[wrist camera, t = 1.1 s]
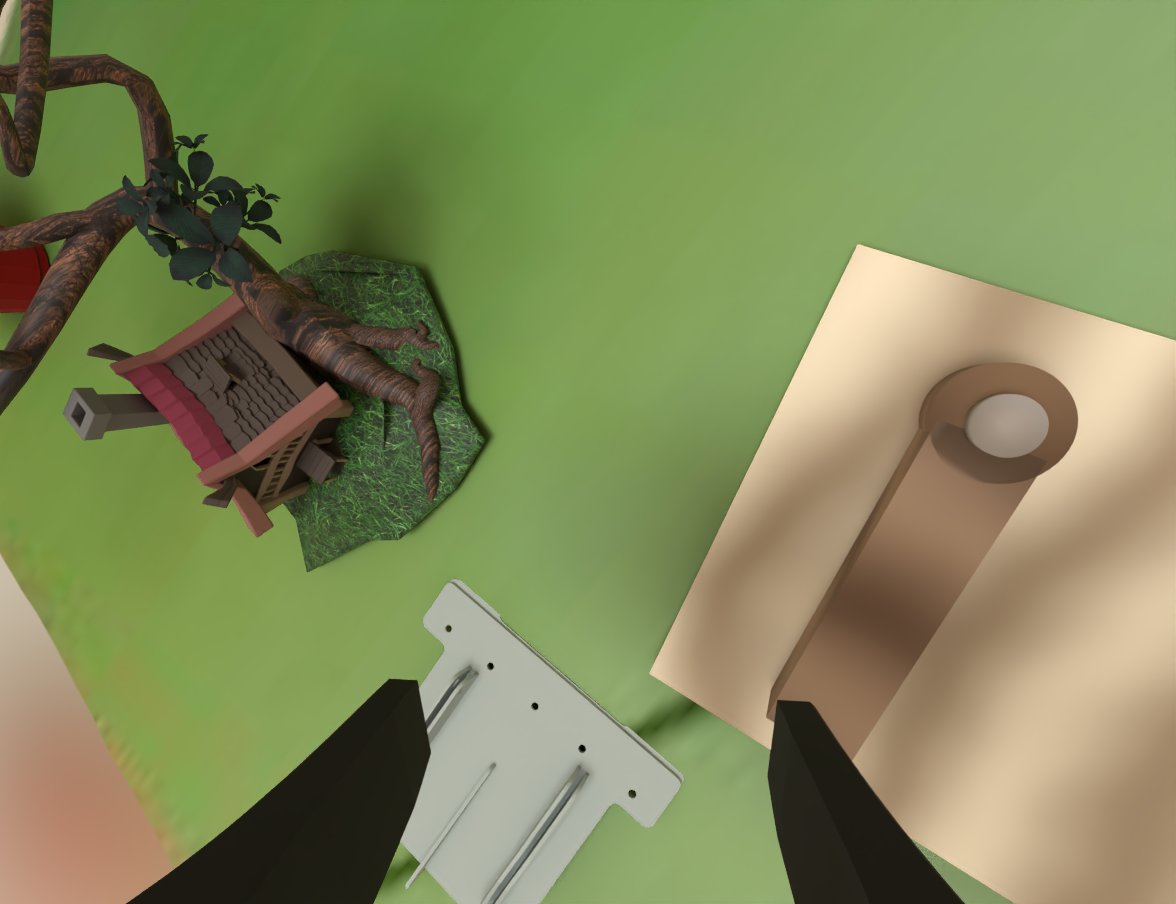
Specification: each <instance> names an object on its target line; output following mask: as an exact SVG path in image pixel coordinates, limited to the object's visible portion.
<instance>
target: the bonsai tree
mask: <svg viewBox="0 0 1176 904" xmlns="http://www.w3.org/2000/svg"><path fill="white" fill-rule="evenodd" d="M6 1H7V0H0V15H1V12H2V8H3V7H4V5H5V3H6ZM52 10H53V0H22V5H21V42H20V59H19V63H16V64H10V65H5V66H2V65H0V93H6V94H16V102H15V113H14V121H13V119H12V116H11V114H10V112H9V109H8V107H7V105H6V103H5V101H4V100H3V98H2V96H1V95H0V142H1V147H2V152H3V156H4V160H5V164H6V168H7V169H8V170H9V171H10V172H11V173H12V174H13V175H16V176H19V177H26V176H29V175H30V173H31V171H32V170H33V168H34V165H35V160H36V154H37V149H38V144H39V138H40V133H41V126H42V119H43V111H44V103H45V96H46V91H51V90H57V89H63V88H69V87H76V86H83V85H90V84H97V83H105V82H106V83H111V84H116V85H121V86H125V88H126V90H127V91H128V93H129V95H130V97H131V99H132V101H133V102H134V104H135V106H136V108H137V111H138V118H139V124H140V131H141V137H142V144H143V152H144V165H145V178H146V183H145V184H144V186H133V184H132V183H131V181H130V180H129V179H128V178H127V177H126V175H125V176H124V177H123V181H122V183H123V187H122V188H120V189H118V190H117V191H115V192H113V193H111V194H109V195H107V196H105V197H103V198H101V199H99V200H98V201H96V202H94V203H92V204H91V205H90V206H89V207H87V208H86V209H84V210H78V211H72V212H65V213H57V214H53V215H50V216H47V217H44V218H41V219H38V220H35V221H32V222H28V223H24V224H20V225H16V226H12V227H7V228H1V229H0V251H9V250H16V249H24V248H30V247H34V246H39V245H43V244H48V243H52V242H55V241H59V240H62V239H65V238H66V240H65V242H64V243H63V245H62V247H61V249H60V251H59V252H58V254H57V256H56V258H55V259H54V261H53V263H52V265H51V267H50V268H49V270H48V272H47V274H46V276H45V278H44V279H43V281H42V283H41V285H40V287H39V289H38V291H37V293H36V294H35V296H34V298H33V300H32V302H31V304H30V306H29V308H28V309H27V311H26V313H25V315H24V317H23V319H22V320H21V322H20V324H19V325H18V327H17V329H16V331H15V332H14V334H13V336H12V337H11V339H10V341H9V342H8V344H7V346H6V348H5V349H4V350H0V415H1V414H2V413H3V411H4V410H5V409H6V407H7V406H8V405H9V404H10V402H11V401H12V400H13V399H14V397H15V396H16V395H17V393H18V392H19V391H20V390H21V388H22V387H23V386H24V384H25V383H26V382H27V381H28V379H29V378H30V376H31V375H32V373H33V372H34V370H35V369H36V367H37V366H38V364H39V363H40V361H41V360H42V358H43V357H44V355H45V354H46V352H47V351H48V349H49V348H50V346H51V345H52V343H53V342H54V340H55V339H56V337H57V336H58V334H59V333H60V331H61V330H62V328H63V326H64V325H65V323H66V322H67V320H68V318H69V317H70V315H71V313H72V312H73V310H74V309H75V307H76V305H77V304H78V302H79V300H80V299H81V297H82V296H83V294H84V292H85V291H86V289H87V287H88V286H89V284H90V283H91V281H92V280H93V278H94V277H95V275H96V274H97V272H98V270H99V269H100V267H101V266H102V264H103V263H104V261H105V260H106V258H107V257H108V255H109V254H110V253H111V251H112V250H113V249H114V248H115V247H116V245H117V244H118V243H119V242H120V240H121V239H122V238H123V237H124V236H125V234H126V233H128V232H129V231H130V230H131V229H132V228H133V227H134V226H136V225H137V228H138V230H139V232H140V233H141V234H142V235H143V236H145V239H146V240H147V241H148V243H149V245H151V246H153V248H154V251H156V252H157V253H158V255H159V256H161V257H167V256H168V255H169V254H170V255H171V256H172V258H171V260H170V263H169V266H170V272H171V276H172V278H173V280H185V281H186V282H187V283H188V284H189V285H191V286H192V284H191V283H190V282H189V281H188V280H190V279H193V278H195V277H197V276H200V275H202V274H203V273H204V272H208V274H205V275H203V276H201V277H200V278H199V279H198V280H197V282H196V284H197V285H198V286H199V287H200V288H202V289H210V288H211V287H212V277H213V279H214V281H215V282H216V284H218V285H220V286H225V287H227V286H229V287H230V288H231V289H232V291H233V292H234V294H233V295H231V296H230V297H229V298H228V299H226V300H225V301H224V302H222V303H221V304H220V305H219V306H217V307H216V308H215V309H213V310H212V311H211V312H209V313H208V314H206V315H205V316H204V317H202V318H201V319H200V320H198V321H197V322H195V323H194V324H193V325H191V326H189V327H188V328H186V329H185V330H183V331H182V332H180V333H179V334H177V335H176V336H174V337H173V338H171V339H170V340H168V341H167V342H165V343H164V344H162V345H160V346H159V347H157V348H156V349H154V350H152V351H149V352H146V353H143V354H140V355H136V356H133V355H131V354H129V353H126V352H124V351H121V350H119V349H117V348H114V347H112V346H109V345H107V344H104V343H102V344H99V345H97V346H94V347H92V348H89V350H88V353H87V355H88V356H93V357H99V358H105V359H110V360H116V361H118V362H114V363H111V364H110V367H111V368H112V370H113V371H114V372H115V373H116V374H117V375H119V376H121V377H123V378H125V379H127V380H129V381H130V382H131V383H132V384H133V385H134V387H136V388H137V389H138V390H139V391H140V392H141V393H142V394H105V395H98V394H97V393H96V392H95V390H94V389H93V388H73V391H72V393H71V395H70V398H69V400H68V402H67V404H66V407H65V409H64V411H63V415H64V416H65V417H66V419H67V420H68V421H69V423H70V424H71V425H72V426H73V428H74V429H75V430H76V432H77V433H78V434H79V436H80V437H81V438H82V439H83V440H95V439H102V437H103V435H104V433H105V432H106V431H114V430H122V429H129V428H137V427H145V426H153V425H161V424H169V425H170V426H171V428H172V430H173V432H174V434H175V435H176V437H177V438H178V439H179V440H180V442H181V443H182V444H183V445H184V446H185V447H186V448H187V449H188V450H189V451H190V453H191V457H192V460H193V461H194V462H195V463H196V464H198V465H199V466H200V468H201V470H202V472H200V473H198V474H197V475H196V477H197V478H198V479H199V480H200V482H201V483H202V484H203V485H204V486H207V487H210V488H213V489H217V491H216V492H214V493H212V494H210V495H209V496H207V497H205V499H204V501H203V504H206V505H211V506H218V507H222V508H227V506H228V504H229V502H230V500H231V499H233V501H234V502H235V504H236V506H237V508H238V509H239V511H240V513H241V515H242V517H243V519H244V521H245V523H246V525H247V526H248V528H249V529H250V530H251V531H252V533H253V534H254V535H255V536H256V537H259V536H261V535H262V534H263V533H264V532H266V531H268V530H269V529H271V528H272V527H273V526H274V525H273V524H272V522H271V521H270V519H269V518H268V516H267V515H266V513H268V512H269V511H271V510H273V509H274V508H276V507H277V506H279V505H281V504H282V503H283V504H284V505H285V506H286V508H287V509H288V510H289V512H290V513H291V514H292V515H293V517H294V518H295V519H296V522H297V527H298V532H299V537H300V541H301V546H302V551H303V556H304V561H305V566H306V570H307V572H310V571H312V570H314V569H315V568H317V567H319V566H321V565H323V564H325V563H327V562H329V561H331V560H333V559H335V558H337V557H339V556H340V555H342V554H344V553H346V552H348V551H350V550H352V549H354V548H356V547H358V546H360V545H362V544H364V543H366V542H368V541H369V540H399V539H401V538H402V537H403V536H404V535H405V534H407V533H408V532H409V531H410V530H411V529H412V528H413V527H414V526H415V525H417V524H418V523H419V522H420V521H421V520H422V519H423V518H424V517H425V516H426V515H428V514H429V513H430V512H431V511H432V510H433V509H434V508H435V507H436V506H438V505H439V504H440V503H441V502H442V501H443V500H444V499H445V498H446V497H448V496H449V495H450V494H451V493H452V492H453V491H454V490H455V489H456V488H457V487H458V485H459V483H460V482H461V480H462V479H463V477H464V475H465V474H466V472H467V470H468V469H469V467H470V466H471V464H472V462H473V461H474V459H475V457H476V456H477V454H478V453H479V451H480V449H481V448H482V446H483V444H484V443H485V441H486V440H485V439H484V437H483V436H482V434H481V433H480V431H479V430H478V428H477V427H476V425H475V424H474V423H473V421H472V420H471V418H470V417H469V415H468V414H467V412H466V411H465V409H464V408H463V406H462V402H461V395H460V388H459V381H458V374H457V367H456V360H455V352H454V348H453V345H452V343H451V341H450V338H449V336H448V334H447V331H446V329H445V327H444V324H443V322H442V320H441V317H440V315H439V313H438V311H437V308H436V306H435V304H434V301H433V299H432V297H431V294H430V292H429V290H428V287H427V285H426V283H425V280H424V278H423V276H422V274H421V271H420V269H419V268H417V267H414V266H409V265H404V264H399V263H394V262H389V261H383V260H378V259H373V258H368V257H363V256H357V255H352V254H347V253H342V252H337V251H328V252H323V253H319V254H314V255H309V256H305V257H304V258H302V259H300V260H298V261H297V262H295V263H293V264H291V265H290V266H288V267H286V268H285V269H283V270H281V271H280V272H279V274H278V273H277V272H276V271H275V270H274V269H273V268H272V267H271V266H270V265H269V264H268V263H267V262H266V261H265V260H264V259H263V258H262V257H261V256H260V255H259V254H258V253H257V252H256V251H255V250H254V249H253V248H252V247H251V246H250V245H249V244H247V243H246V242H245V241H244V240H243V239H242V238H241V237H240V236H239V235H237V234H238V233H239V231H240V228H241V227H244V228H247V229H249V230H255V229H258V230H261V231H263V232H264V233H265V234H267V235H268V236H269V237H271V238H272V239H273V240H275V241H276V242H278V243H280V244H281V239H280V236H279V234H278V233H277V231H276V230H275V229H274V228H273V227H271V226H270V225H266V224H259V223H255V224H252V225H250V224H249V223H247V221H253V222H259V221H263V220H266V219H268V218H270V217H271V216H272V209H271V206H270V205H269V204H268V203H267V202H265V201H263V199H264V198H265V199H273V200H275V201H276V202H278V200H276V199H281V198H279V197H278V196H276V195H274V194H268V195H266V196H265V190H264V188H263V187H262V186H260V185H258V184H256V183H255V184H256V186H257V188H258V189H257V188H256V187H255V186H251V187H253V188H255V189H257V191H258V192H259V193H260V195H261V197H264V196H265V197H264V198H263V199H262V200H258V201H256V202H255V203H254V204H253V205H252V207H251V208H250V210H249V211H248V212H247V207H248V199H247V198H246V195H247V194H248V193H254V194H255V191H253V192H250V191H252V190H255V189H252V188H249V189H248V188H244V189H243V187H242V186H241V185H240V184H239V183H238V182H237V181H235V180H233V179H231V178H229V177H223V176H219V177H217V178H215V179H213V180H211V181H210V182H209V183H207V185H206V187H205V189H204V191H198V187H199V186H201V185H203V184H205V183H206V182H207V180H208V178H209V177H210V175H211V172H212V169H213V166H214V163H213V160H212V158H211V157H210V156H209V155H208V154H207V153H206V152H203V151H197V152H195V151H194V152H192V153H191V154H190V155H189V156H188V170H189V173H190V177H191V179H192V180H193V182H194V184H195V190H194V189H193V188H192V189H193V190H194V191H193V190H192V189H191V185H190V179H189V177H188V176H187V174H186V173H185V171H184V170H183V169H182V168H181V166H180V165H179V164H178V150H179V148H180V147H181V146H182V145H183V146H186V147H188V148H193V147H194V148H197V146H198V145H199V144H200V143H204V142H205V141H204V140H203V139H204V138H205V137H206V136H208V135H207V134H202V135H199V136H197V137H196V138H195V141H194V143H193V142H192V141H191V139H190V138H189V137H187V136H178V137H175V138H176V139H177V140H179V141H181V142H182V143H184V144H182V143H179V142H174V139H173V133H172V126H171V119H170V115H169V113H168V111H167V109H166V107H165V105H164V103H163V101H162V99H161V97H160V95H159V93H158V91H157V89H156V86H155V84H154V82H153V81H152V80H151V79H150V78H149V77H148V76H146V75H144V74H142V73H141V72H139V71H137V70H135V69H133V68H131V67H129V66H127V65H126V64H124V63H122V62H120V61H118V60H116V59H114V58H112V57H111V56H109V55H107V54H100V55H80V56H60V57H50V45H51V28H52ZM202 140H203V141H202ZM175 144H180V145H179V147H178V148H177V149H175V146H174V145H175ZM194 148H193V149H194ZM178 180H179V181H180V182H182V183H183V184H184V185H183V184H181V186H180V188H181V190H182V192H183V193H182V194H181V195H179V194H178ZM185 185H186V186H187V187H186V186H185ZM210 190H213V191H215V192H211V191H210ZM228 190H231V191H232V192H233V194H234V196H235V198H234V200H235V201H234V200H233V196H232V194H231V193H230V192H229V191H228ZM207 193H215V194H217V195H218V198H219V201H220V203H221V204H222V206H220V203H219V202H218V201H217V200H216V199H215V198H214V197H212V196H207V197H205V198H203V200H204V201H205V202H207V203H209V204H212V205H214V206H216V207H218V208H215V209H214V210H213V211H212V213H211V214H210V213H209V212H207V211H206V210H204V209H203V208H201V207H199V206H198V205H196V202H197V199H200V198H202V197H203V196H205V195H206V194H207ZM274 198H276V199H274ZM193 200H194V202H192V201H193ZM227 201H229V202H228V203H227V204H226V202H227ZM225 204H226V205H225ZM239 205H240V206H239ZM247 214H248V220H245V219H244V217H245V216H246V215H247ZM152 225H153V226H152ZM154 226H155V227H154ZM157 227H158V228H157ZM159 228H160V229H159ZM148 229H150V230H152V231H155V232H158V233H161V234H154V235H148ZM162 229H163V230H162ZM164 230H165V231H164ZM166 231H167V232H166ZM169 233H170V234H171V235H173V236H174V237H175V239H174V238H172V237H170V236H168V235H165V234H169ZM177 239H178V240H180V241H181V242H183V243H184V244H185V245H187V246H188V247H189V248H183V249H180V247H179V246H178V247H177V243H176V240H177ZM178 244H179V243H178ZM207 268H208V270H207ZM211 268H212V269H213V270H214V271H215V272H216V273H217V274H218V275H219V276H220V277H221V278H222V279H223V280H224V281H222V280H220V279H217V278H216V276H215V275H214V274H213V273H211V272H210V270H211ZM209 273H210V274H211V275H212V277H211V276H210V275H209Z"/></svg>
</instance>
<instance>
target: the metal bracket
mask: <svg viewBox="0 0 1176 904" xmlns="http://www.w3.org/2000/svg"><path fill="white" fill-rule="evenodd" d="M423 623H424V626H425V628H426V629H427V630H428V631H430V632H431V633H432V634H433V635H434V636H435V637H436V638H437V639H438V640H439V641H440V642H442V643H443V645H444V649H445V650H444V653H443V654H442V656H441V657H440V659H439V660H438V662H437V663H436V665H435V666H434V667H433V669H432V670H431V672H430V673H429V675H428V676H427V678H426V679H425V680H424V682H423V683H422V685H421V686H420V688H419V691H420V697H421V702H422V707H423V712H424V717H425V723H426V728H427V733H428V738H429V743H430V749H431V755H430V759H429V762H428V765H427V769H426V772H425V775H424V779H423V782H422V785H421V788H420V792H419V795H418V798H417V801H416V804H415V807H414V810H413V812H412V814H411V817H410V819H409V822H408V824H407V826H406V829H405V831H404V833H403V836H402V838H401V840H400V842H401V843H402V844H403V845H404V846H405V847H406V848H407V849H408V850H409V851H410V853H411V854H412V855H413V856H414V857H415V858H416V859H417V860H418V861H419V862H420V863H421V864H420V865H419V867H418V868H417V869H416V871H415V872H414V874H413V875H412V876H411V878H410V879H409V881H408V882H407V883H406V885H405V887H406V888H407V889H408V888H409V887H410V886H411V884H412V883H413V882H414V881H415V880H416V878H417V877H418V876H419V875H420V874H421V872H422V871H423V870H424V869H426V870H427V871H428V872H429V873H430V874H431V875H432V876H433V877H434V879H435V880H436V881H437V882H438V883H439V884H440V885H441V886H442V887H443V888H444V889H445V890H446V892H447V893H448V894H449V895H450V896H451V897H452V898H453V899H454V900H455V901H456V902H457V904H540V902H541V901H542V900H543V898H544V897H545V895H546V894H547V893H548V891H549V890H550V888H551V887H552V886H553V884H554V883H555V881H556V880H557V879H558V877H559V876H560V874H561V873H562V872H563V870H564V869H565V867H566V866H567V865H568V863H569V862H570V860H571V859H572V858H573V856H574V855H575V853H576V852H577V851H578V849H579V848H580V847H581V845H582V844H583V842H584V841H585V840H586V838H587V837H588V835H589V834H590V833H591V831H592V830H593V828H594V827H595V826H596V824H597V823H598V821H599V820H600V819H601V817H602V816H603V814H604V813H605V812H606V810H607V809H608V807H609V806H610V805H611V804H618V805H620V806H621V807H622V808H623V809H624V810H625V811H627V812H628V813H629V814H630V815H631V816H632V817H633V818H634V819H635V820H636V821H637V822H639V823H640V824H641V825H642V826H644V827H647V828H648V827H651V826H653V825H654V823H655V822H656V821H657V819H658V818H659V816H660V815H661V814H662V812H663V811H664V810H665V808H666V807H667V805H668V804H669V803H670V801H671V800H672V798H673V797H674V796H675V794H676V793H677V792H678V790H679V789H680V786H681V785H682V783H683V781H684V777H683V775H682V774H681V773H680V772H679V771H678V770H677V769H676V768H674V767H673V766H672V765H671V764H670V763H669V762H668V761H666V760H665V759H664V758H663V757H662V756H661V755H660V754H658V753H657V752H656V751H655V750H654V749H653V748H652V747H650V746H649V745H648V744H647V743H646V742H645V741H644V740H642V739H641V738H640V737H639V736H638V735H637V734H636V733H634V732H633V731H632V730H631V729H630V728H629V727H628V726H624V725H622V724H621V723H619V722H618V721H617V720H616V719H615V718H614V717H613V716H611V715H610V714H609V713H608V712H607V711H606V710H604V709H603V708H602V707H601V706H600V705H599V704H597V703H596V702H595V701H594V700H593V699H592V698H591V697H589V696H588V695H587V694H586V693H585V692H584V691H582V690H581V689H580V688H579V687H578V686H577V685H575V684H574V683H573V682H572V681H571V680H570V679H569V678H567V677H566V676H565V675H564V674H563V673H562V672H560V671H559V670H558V669H557V668H556V667H555V666H553V665H552V664H551V663H550V662H549V661H548V660H547V659H545V658H544V657H543V656H542V655H541V654H540V653H538V652H537V651H536V650H535V649H534V648H533V647H531V646H530V645H529V644H528V643H527V642H526V641H525V640H523V639H522V638H521V637H520V636H519V635H518V634H516V633H515V632H514V631H513V630H512V629H511V628H509V627H508V626H507V625H506V624H505V623H504V622H503V621H502V620H501V617H500V615H499V614H498V613H497V612H496V611H495V610H494V609H493V608H491V607H490V606H489V605H488V604H487V603H486V602H484V601H483V600H482V599H481V598H480V597H479V596H478V595H476V594H475V593H474V592H473V591H472V590H471V589H470V588H468V587H467V586H466V585H465V584H464V583H463V582H462V581H460V580H457V579H453V580H451V581H450V582H449V583H448V584H447V585H446V586H445V587H444V589H443V590H442V592H441V593H440V594H439V596H438V597H437V599H436V600H435V602H434V603H433V605H432V606H431V608H430V609H429V610H428V612H427V613H426V615H425V616H424V618H423ZM448 625H450V626H451V627H452V630H451V632H449V631H448V630H447V626H448ZM489 663H493V665H494V668H493V669H490V668H489V666H488V665H489ZM534 702H536V703H537V704H538V709H534V708H533V705H532V704H533V703H534ZM580 745H584V746H585V747H586V751H581V750H580V749H579V746H580ZM630 790H634V791H635V792H636V796H633V797H632V796H631V795H630V794H629V791H630Z"/></svg>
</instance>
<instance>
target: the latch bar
mask: <svg viewBox="0 0 1176 904" xmlns="http://www.w3.org/2000/svg"><path fill="white" fill-rule="evenodd" d="M1077 428H1078V413H1077V408H1076V404H1075V401H1074V399H1073V397H1072V395H1071V394H1070V392H1069V391H1068V389H1067V388H1066V387H1065V386H1064V385H1063V384H1062V383H1061V382H1060V381H1059V380H1058V379H1057V378H1055V377H1054V376H1053V375H1051V374H1049V373H1047V372H1046V371H1044V370H1041V369H1039V368H1037V367H1034V366H1030V365H1026V364H1020V363H1007V362H1006V363H993V364H984V365H976V366H971V367H967V368H964V369H961V370H958V371H956V372H953V373H952V374H950V375H948V376H946V377H945V378H944V379H942V380H941V381H939V382H938V383H937V384H936V385H935V386H934V387H933V388H932V389H931V391H930V392H929V393H928V395H927V396H926V398H925V400H924V402H923V404H922V407H921V410H920V415H919V430H918V432H917V433H916V435H915V437H914V439H913V440H912V442H911V444H910V446H909V447H908V449H907V451H906V453H905V454H904V456H903V458H902V460H901V461H900V463H899V465H898V467H897V469H896V470H895V472H894V474H893V476H892V477H891V479H890V481H889V483H888V484H887V486H886V488H885V490H884V491H883V493H882V495H881V497H880V498H879V500H878V502H877V504H876V505H875V507H874V509H873V511H872V512H871V514H870V516H869V518H868V520H867V521H866V523H865V525H864V527H863V528H862V530H861V532H860V534H859V535H858V537H857V539H856V541H855V542H854V544H853V546H852V548H851V549H850V551H849V553H848V555H847V556H846V558H845V560H844V562H843V563H842V565H841V567H840V569H839V571H838V572H837V574H836V576H835V578H834V579H833V581H832V583H831V585H830V586H829V588H828V590H827V592H826V593H825V595H824V597H823V599H822V600H821V602H820V604H819V606H818V607H817V609H816V611H815V613H814V614H813V616H812V618H811V620H810V622H809V623H808V625H807V627H806V629H805V630H804V632H803V634H802V636H801V637H800V639H799V641H798V643H797V644H796V646H795V648H794V650H793V651H792V653H791V655H790V657H789V658H788V660H787V662H786V664H785V665H784V667H783V669H782V671H781V673H780V674H779V676H778V678H777V680H776V681H775V683H774V685H773V687H772V688H771V692H770V697H769V703H768V709H767V715H766V718H767V719H769V720H771V721H772V722H774V721H775V713H776V705H777V700H788V701H807V702H811V703H812V704H813V705H814V706H815V707H816V709H817V710H818V712H819V713H820V715H821V716H822V718H823V719H824V721H825V723H826V724H827V726H828V727H829V729H830V730H831V732H832V733H833V734H834V736H835V737H836V739H837V740H838V742H839V743H840V745H841V746H842V748H843V749H844V751H845V752H846V753H847V755H848V756H849V758H850V759H851V760H853V759H854V757H855V756H856V754H857V753H858V751H859V749H860V748H861V746H862V745H863V743H864V742H865V740H866V739H867V737H868V736H869V734H870V733H871V731H872V730H873V728H874V726H875V725H876V723H877V722H878V720H879V719H880V717H881V716H882V714H883V713H884V711H885V710H886V708H887V706H888V705H889V703H890V702H891V700H892V699H893V697H894V696H895V694H896V693H897V691H898V690H899V688H900V686H901V685H902V683H903V682H904V680H905V679H906V677H907V676H908V674H909V673H910V671H911V670H912V668H913V666H914V665H915V663H916V662H917V660H918V659H919V657H920V656H921V654H922V653H923V651H924V650H925V648H926V646H927V645H928V643H929V642H930V640H931V639H932V637H933V636H934V634H935V633H936V631H937V630H938V628H939V627H940V625H941V623H942V622H943V620H944V619H945V617H946V616H947V614H948V613H949V611H950V610H951V608H952V607H953V605H954V603H955V602H956V600H957V599H958V597H959V596H960V594H961V593H962V591H963V590H964V588H965V587H966V585H967V583H968V582H969V580H970V579H971V577H972V576H973V574H974V573H975V571H976V570H977V568H978V567H979V565H980V563H981V562H982V560H983V559H984V557H985V556H986V554H987V553H988V551H989V550H990V548H991V547H992V545H993V544H994V542H995V540H996V539H997V537H998V536H999V534H1000V533H1001V531H1002V530H1003V528H1004V527H1005V525H1006V524H1007V522H1008V520H1009V519H1010V517H1011V516H1012V514H1013V513H1014V511H1015V510H1016V508H1017V507H1018V505H1019V504H1020V502H1021V500H1022V499H1023V497H1024V496H1025V494H1026V493H1027V491H1028V490H1029V488H1030V487H1031V485H1032V484H1033V482H1034V480H1035V479H1036V477H1037V476H1039V475H1041V474H1043V473H1044V472H1046V471H1048V470H1049V469H1051V468H1052V467H1053V466H1055V465H1056V464H1057V463H1058V462H1059V461H1060V460H1061V459H1062V458H1063V457H1064V456H1065V455H1066V453H1067V452H1068V451H1069V449H1070V447H1071V446H1072V444H1073V442H1074V439H1075V436H1076V433H1077Z"/></svg>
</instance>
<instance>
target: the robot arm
mask: <svg viewBox="0 0 1176 904" xmlns="http://www.w3.org/2000/svg"><path fill="white" fill-rule="evenodd" d="M430 755H431V749H430V743H429V738H428V733H427V728H426V723H425V717H424V712H423V707H422V702H421V697H420V691H419V686H418V681H417V680H401V679H389V680H388V681H387V682H385V683H384V684H383V685H382V686H381V687H380V688H379V689H378V690H377V691H376V692H375V693H374V694H373V695H372V696H371V697H370V698H369V699H368V700H367V701H366V702H365V703H364V704H363V705H361V706H360V707H359V708H358V709H357V710H356V711H355V712H354V713H353V714H352V715H351V716H350V717H349V718H348V719H347V720H346V721H345V722H344V723H343V724H342V725H341V726H340V727H339V728H338V729H337V730H336V731H335V732H334V733H333V734H332V735H331V736H330V737H329V738H328V739H326V740H325V741H324V742H323V743H322V744H321V745H320V746H319V747H318V748H317V749H316V750H315V751H314V752H313V753H312V754H310V755H309V756H308V757H307V758H306V759H305V760H304V761H303V762H302V763H301V764H300V765H299V766H298V767H297V768H296V769H294V770H293V771H292V772H291V773H290V774H289V775H288V776H287V777H286V778H285V779H283V780H282V781H281V782H280V783H279V784H278V785H277V786H275V787H274V788H273V789H272V790H271V791H270V792H269V793H267V794H266V795H265V796H264V797H263V798H262V799H261V800H259V801H258V802H257V803H256V804H255V805H254V806H253V807H252V808H250V809H249V810H248V811H247V812H246V813H245V814H243V815H242V816H241V817H240V818H239V819H237V820H236V821H235V822H234V823H233V824H231V825H230V826H229V827H228V828H227V829H225V830H224V831H223V832H222V833H220V834H219V835H218V836H217V837H215V838H214V839H213V840H212V841H210V842H209V843H208V844H207V845H205V846H204V847H203V848H201V849H200V850H199V851H198V852H196V853H195V854H194V855H192V856H191V857H190V858H189V859H187V860H186V861H185V862H183V863H182V864H181V865H179V866H178V867H177V868H175V869H174V870H173V871H171V872H170V873H169V874H167V875H166V876H165V877H163V878H162V879H160V880H159V881H158V882H156V883H155V884H153V885H152V886H150V887H149V888H148V889H146V890H145V891H143V892H142V893H141V894H139V895H138V896H136V897H135V898H134V899H132V900H131V901H129V902H128V903H126V904H373V903H374V901H375V899H376V896H377V894H378V892H379V889H380V887H381V885H382V882H383V880H384V878H385V875H386V873H387V871H388V868H389V866H390V864H391V862H392V859H393V857H394V855H395V852H396V850H397V848H398V845H399V843H400V840H401V838H402V836H403V833H404V831H405V829H406V826H407V824H408V822H409V819H410V817H411V814H412V812H413V810H414V807H415V804H416V801H417V798H418V795H419V792H420V788H421V785H422V782H423V779H424V775H425V772H426V769H427V765H428V762H429V759H430ZM768 782H769V788H770V795H771V801H772V808H773V813H774V819H775V825H776V831H777V837H778V841H779V844H780V848H781V852H782V856H783V860H784V864H785V868H786V871H787V875H788V879H789V883H790V887H791V890H792V894H793V898H794V902H795V904H965V903H964V902H963V901H962V900H961V899H960V898H959V896H958V895H957V894H956V893H955V892H954V891H953V889H952V888H951V887H950V886H949V885H948V884H947V882H946V881H945V880H944V879H943V878H942V877H941V875H940V874H939V873H938V872H937V870H936V869H935V868H934V867H933V866H932V864H931V863H930V862H929V861H928V860H927V858H926V857H925V856H924V855H923V854H922V852H921V851H920V850H919V849H918V848H917V846H916V845H915V844H914V843H913V841H912V840H911V839H910V838H909V836H908V835H907V834H906V832H905V831H904V830H903V829H902V827H901V826H900V825H899V824H898V822H897V821H896V820H895V818H894V817H893V816H892V814H891V813H890V812H889V810H888V809H887V808H886V807H885V805H884V804H883V803H882V801H881V800H880V799H879V797H878V796H877V795H876V793H875V792H874V791H873V789H872V788H871V787H870V785H869V784H868V783H867V781H866V780H865V779H864V777H863V776H862V774H861V773H860V772H859V770H858V769H857V768H856V766H855V765H854V763H853V762H852V760H851V759H850V758H849V756H848V755H847V753H846V752H845V751H844V749H843V748H842V746H841V745H840V743H839V742H838V740H837V739H836V737H835V736H834V734H833V733H832V732H831V730H830V729H829V727H828V726H827V724H826V723H825V721H824V719H823V718H822V716H821V715H820V713H819V712H818V710H817V709H816V707H815V706H814V705H813V704H812V703H811V702H807V701H788V700H777V705H776V713H775V721H774V729H773V736H772V744H771V752H770V760H769V768H768Z"/></svg>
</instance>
